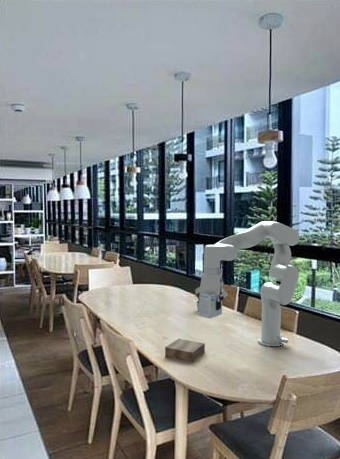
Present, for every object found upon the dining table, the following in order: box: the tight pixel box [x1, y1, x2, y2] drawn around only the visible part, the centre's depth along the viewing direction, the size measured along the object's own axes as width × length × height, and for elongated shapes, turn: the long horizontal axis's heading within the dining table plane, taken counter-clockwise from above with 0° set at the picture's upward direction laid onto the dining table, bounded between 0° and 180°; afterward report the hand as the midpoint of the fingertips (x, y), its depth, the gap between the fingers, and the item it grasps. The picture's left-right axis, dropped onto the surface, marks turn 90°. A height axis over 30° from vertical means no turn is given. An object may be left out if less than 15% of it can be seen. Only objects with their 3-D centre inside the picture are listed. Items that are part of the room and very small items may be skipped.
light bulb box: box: [198, 292, 223, 319], centre depth 182 cm, size 11×7×11 cm, turn 141°
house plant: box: [193, 288, 199, 312], centre depth 262 cm, size 14×14×16 cm
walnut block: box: [164, 338, 206, 363], centre depth 182 cm, size 14×14×5 cm
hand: (210, 308), depth 182 cm, fingers closed on light bulb box, 7 cm apart
